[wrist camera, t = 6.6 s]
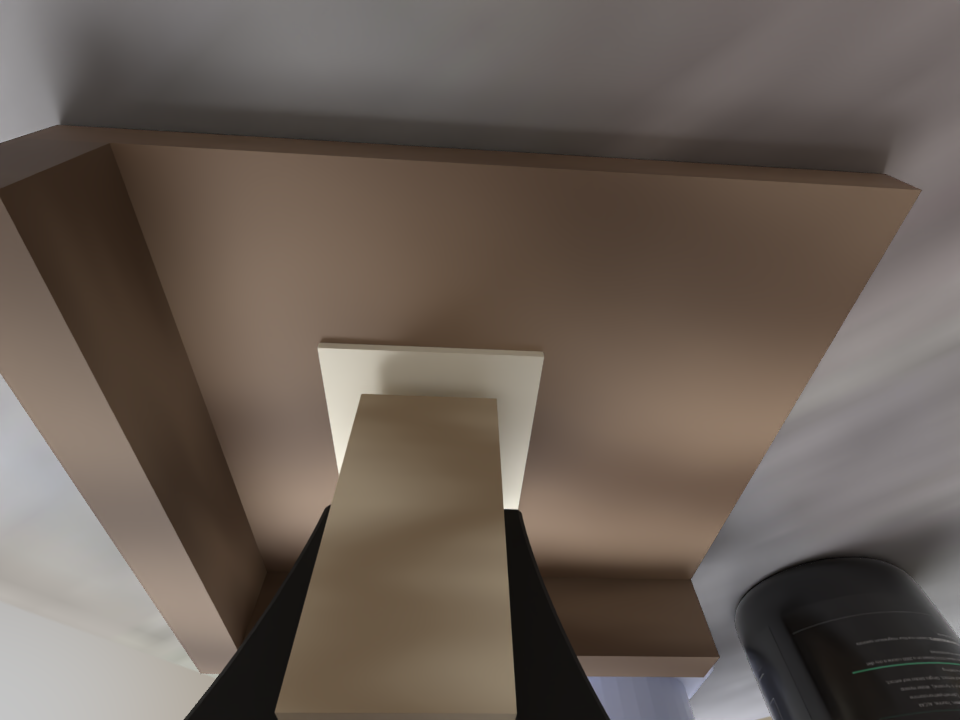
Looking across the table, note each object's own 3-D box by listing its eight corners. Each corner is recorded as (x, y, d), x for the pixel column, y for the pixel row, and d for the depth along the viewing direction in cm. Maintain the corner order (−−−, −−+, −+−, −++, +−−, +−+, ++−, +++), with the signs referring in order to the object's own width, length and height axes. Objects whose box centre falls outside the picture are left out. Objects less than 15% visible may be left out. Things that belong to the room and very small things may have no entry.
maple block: (496, 398, 11) (517, 723, 6) (482, 530, 14) (489, 820, 9) (360, 393, 11) (271, 722, 6) (376, 528, 14) (324, 820, 9)
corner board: (669, 575, 19) (703, 677, 16) (242, 567, 18) (200, 673, 15) (885, 174, 10) (1049, 246, 7) (56, 124, 9) (-126, 183, 6)
